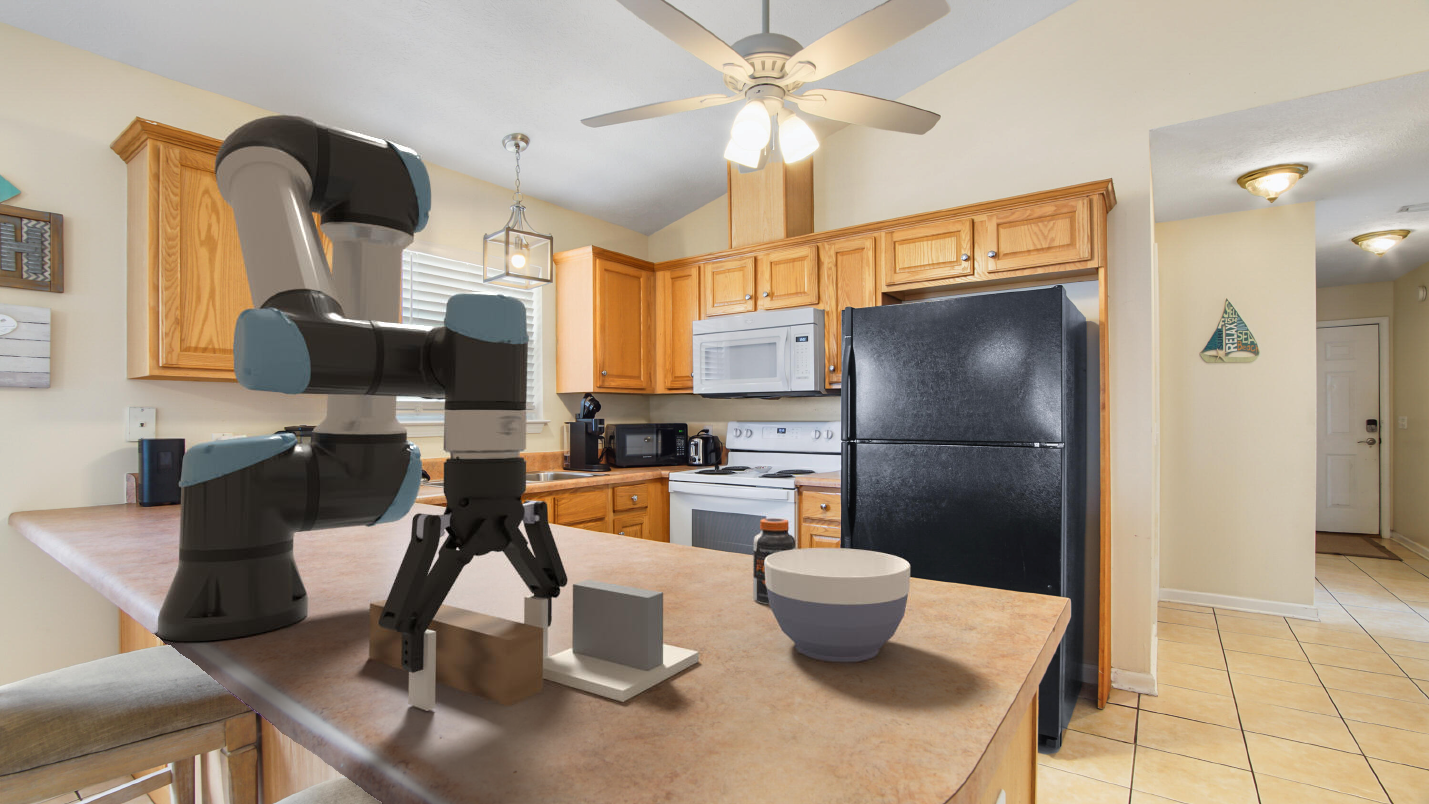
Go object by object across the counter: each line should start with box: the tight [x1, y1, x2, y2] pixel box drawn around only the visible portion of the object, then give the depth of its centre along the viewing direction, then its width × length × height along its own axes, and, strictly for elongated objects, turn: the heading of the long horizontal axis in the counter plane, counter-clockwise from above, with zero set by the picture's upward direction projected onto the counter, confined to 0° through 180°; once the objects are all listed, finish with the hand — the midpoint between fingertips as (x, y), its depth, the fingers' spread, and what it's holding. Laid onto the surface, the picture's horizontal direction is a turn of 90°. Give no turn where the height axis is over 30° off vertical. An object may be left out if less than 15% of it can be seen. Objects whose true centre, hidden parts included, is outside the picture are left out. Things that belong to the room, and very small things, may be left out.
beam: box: [368, 599, 544, 707], centre depth 66 cm, size 22×4×6 cm, turn 57°
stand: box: [543, 579, 700, 703], centre depth 67 cm, size 12×12×8 cm
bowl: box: [764, 547, 911, 663], centre depth 73 cm, size 16×16×10 cm
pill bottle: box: [752, 517, 796, 605], centre depth 93 cm, size 6×6×11 cm
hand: (483, 682), depth 63 cm, fingers open, 12 cm apart
